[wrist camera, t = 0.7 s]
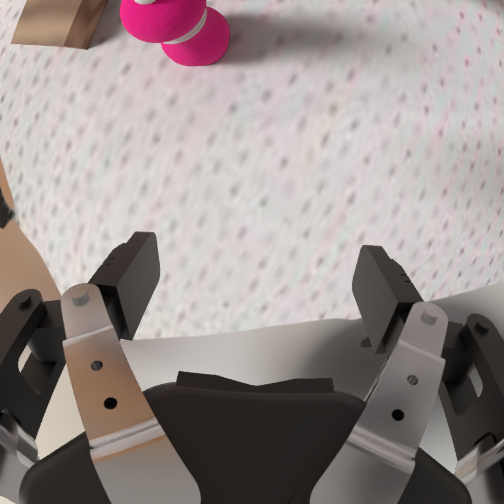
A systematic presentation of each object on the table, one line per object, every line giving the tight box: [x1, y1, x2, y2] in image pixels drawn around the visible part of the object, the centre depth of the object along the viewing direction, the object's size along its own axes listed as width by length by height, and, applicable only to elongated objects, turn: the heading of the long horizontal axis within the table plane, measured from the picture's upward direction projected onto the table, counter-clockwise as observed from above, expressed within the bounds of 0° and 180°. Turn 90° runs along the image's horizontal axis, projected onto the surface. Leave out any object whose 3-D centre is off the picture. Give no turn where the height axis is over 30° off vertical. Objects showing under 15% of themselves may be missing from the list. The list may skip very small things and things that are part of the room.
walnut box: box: [11, 0, 108, 50], centre depth 21 cm, size 11×11×6 cm
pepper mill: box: [120, 0, 230, 66], centre depth 19 cm, size 7×7×20 cm
